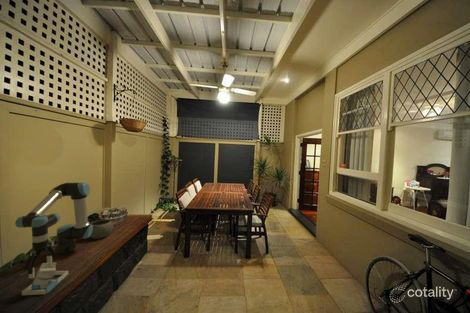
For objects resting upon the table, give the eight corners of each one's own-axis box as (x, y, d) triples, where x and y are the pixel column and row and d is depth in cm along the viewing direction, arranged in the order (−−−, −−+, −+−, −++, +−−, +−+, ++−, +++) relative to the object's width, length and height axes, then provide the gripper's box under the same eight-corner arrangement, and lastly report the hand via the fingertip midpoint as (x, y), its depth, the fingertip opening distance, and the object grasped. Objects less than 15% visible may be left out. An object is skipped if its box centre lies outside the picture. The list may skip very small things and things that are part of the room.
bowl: (117, 232, 219) (117, 219, 219) (100, 241, 197) (100, 227, 196) (100, 230, 223) (100, 217, 223) (81, 239, 201) (81, 225, 200)
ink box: (31, 290, 125) (41, 266, 128) (30, 286, 128) (41, 263, 131) (48, 288, 131) (58, 265, 134) (47, 284, 134) (57, 262, 138)
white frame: (48, 274, 145) (48, 270, 144) (69, 273, 146) (69, 269, 146) (21, 295, 124) (21, 289, 124) (46, 294, 126) (46, 288, 126)
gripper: (49, 232, 141) (50, 260, 142) (15, 250, 116) (16, 284, 118) (61, 231, 142) (61, 259, 143) (28, 250, 117) (29, 283, 118)
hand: (41, 271), depth 130 cm, fingers open, 13 cm apart
